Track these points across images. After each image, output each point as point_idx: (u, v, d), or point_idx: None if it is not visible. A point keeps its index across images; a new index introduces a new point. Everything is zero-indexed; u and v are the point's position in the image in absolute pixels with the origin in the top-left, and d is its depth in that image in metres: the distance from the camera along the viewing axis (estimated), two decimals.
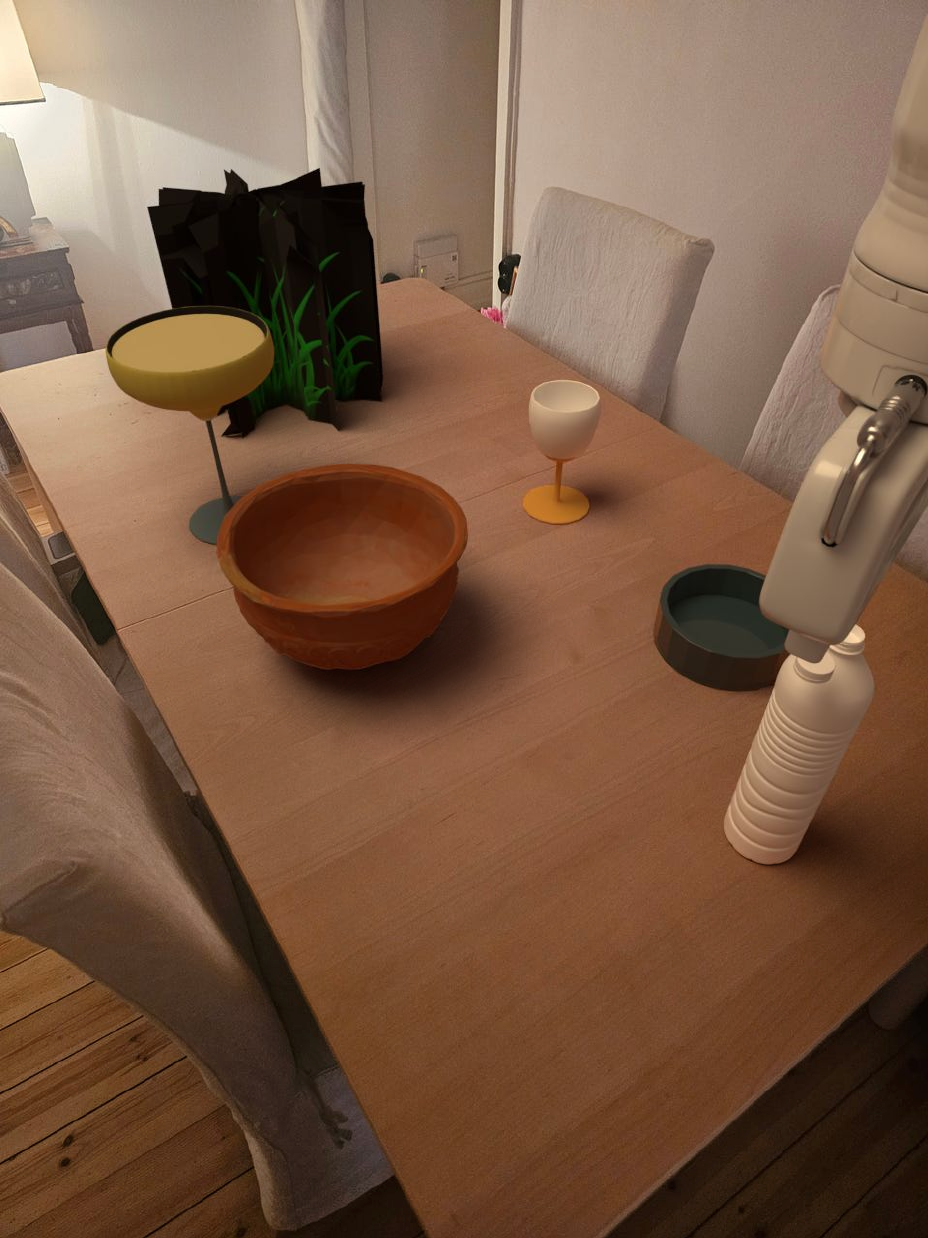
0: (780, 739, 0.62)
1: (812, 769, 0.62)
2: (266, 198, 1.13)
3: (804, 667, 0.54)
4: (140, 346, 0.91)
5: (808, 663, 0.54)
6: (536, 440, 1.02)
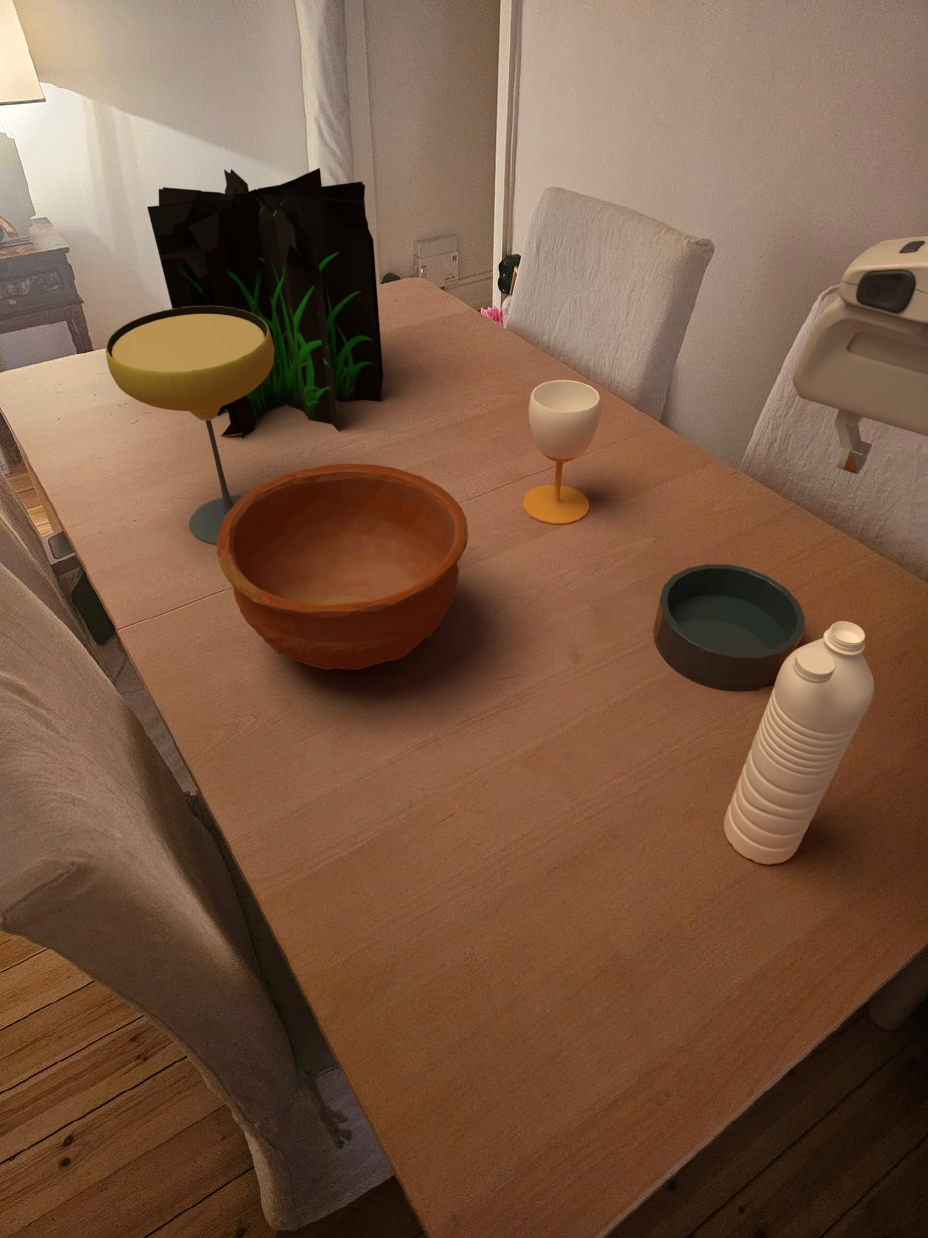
0: (780, 739, 0.62)
1: (812, 769, 0.62)
2: (266, 198, 1.13)
3: (804, 667, 0.54)
4: (140, 345, 0.91)
5: (808, 663, 0.54)
6: (536, 440, 1.02)
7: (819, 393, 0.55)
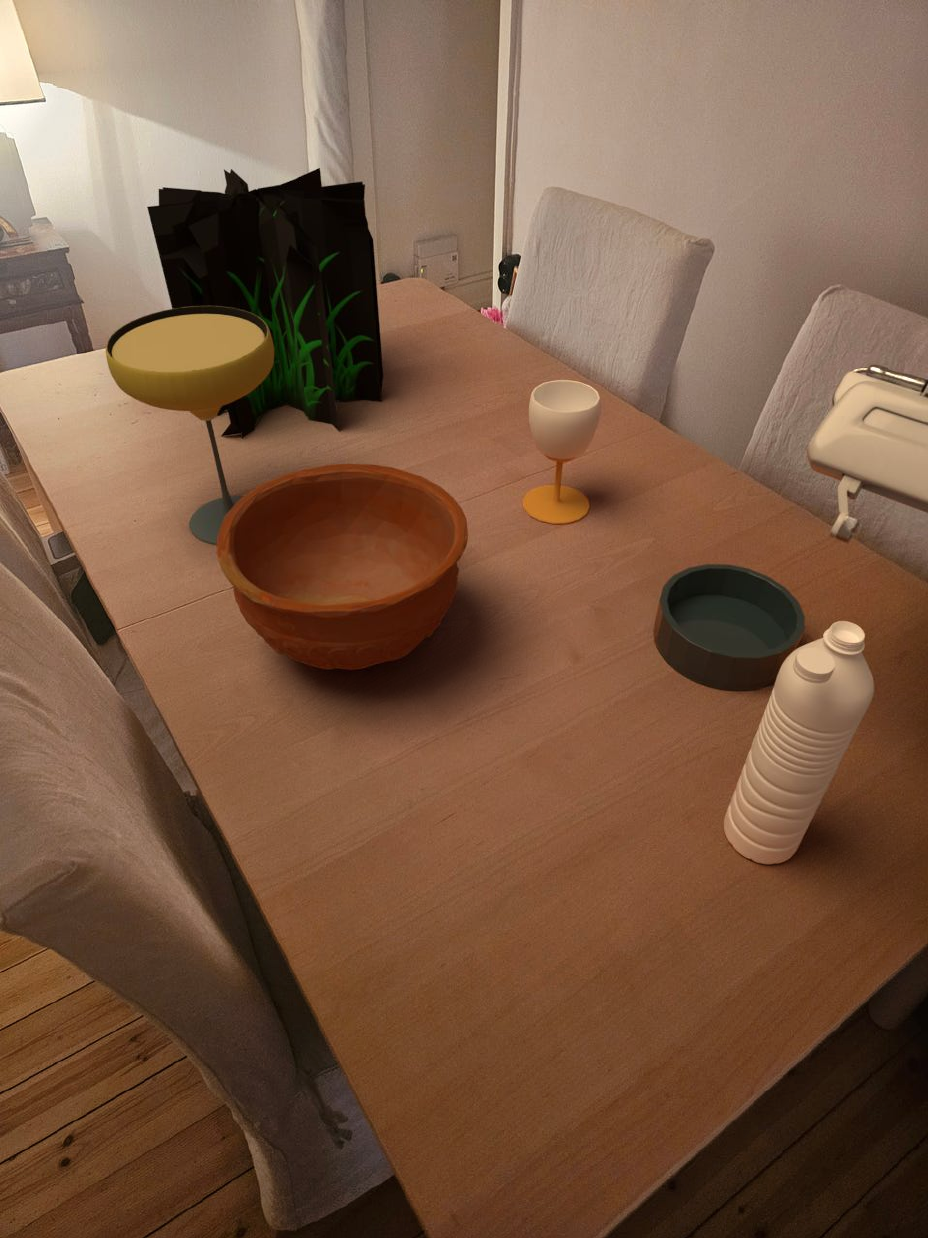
0: (780, 739, 0.62)
1: (812, 769, 0.62)
2: (266, 198, 1.13)
3: (804, 666, 0.54)
4: (140, 345, 0.91)
5: (808, 663, 0.54)
6: (536, 440, 1.02)
7: None
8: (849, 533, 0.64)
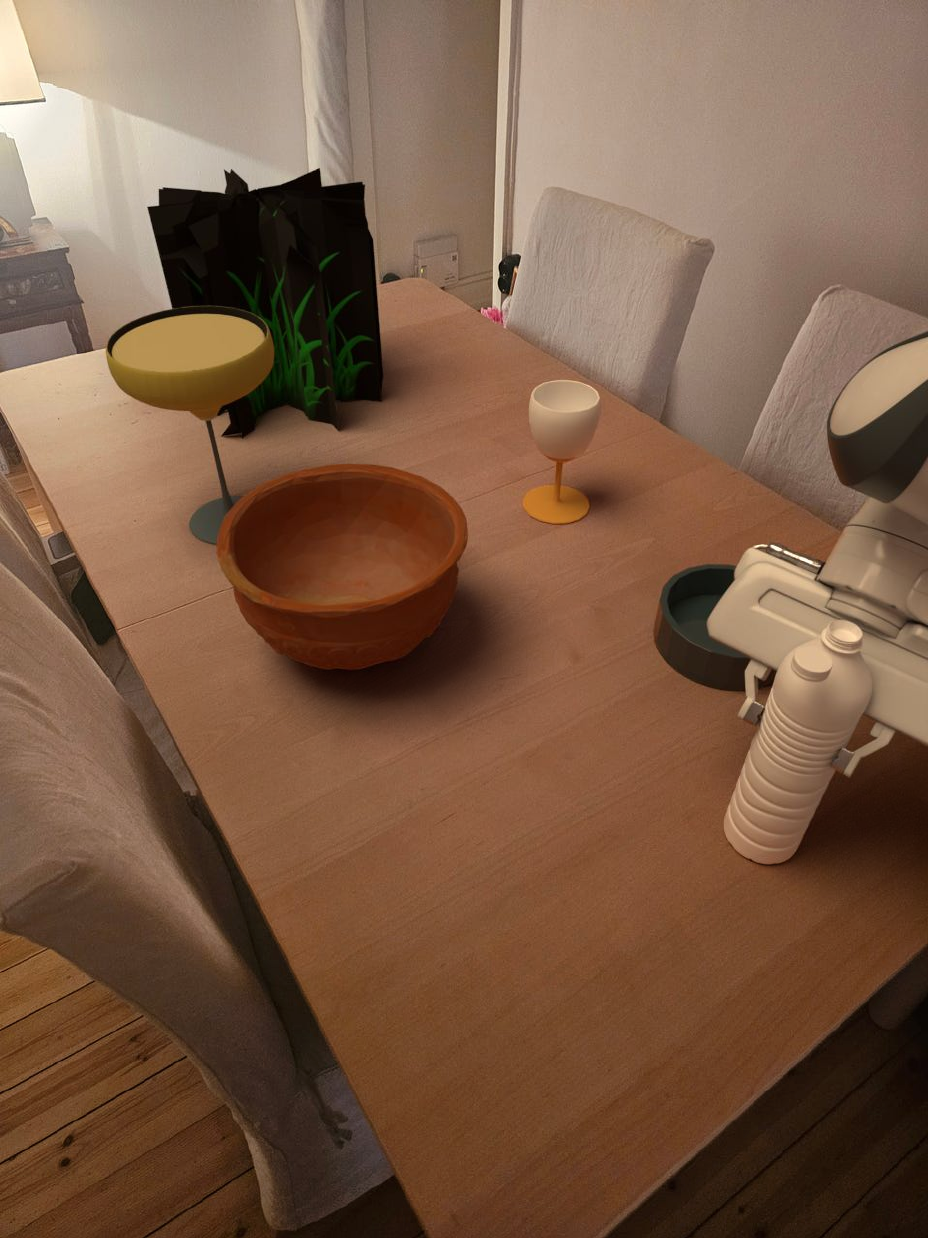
0: (779, 738, 0.62)
1: (811, 768, 0.62)
2: (266, 198, 1.13)
3: (801, 665, 0.54)
4: (140, 345, 0.91)
5: (805, 661, 0.54)
6: (536, 440, 1.02)
7: None
8: (755, 719, 0.64)
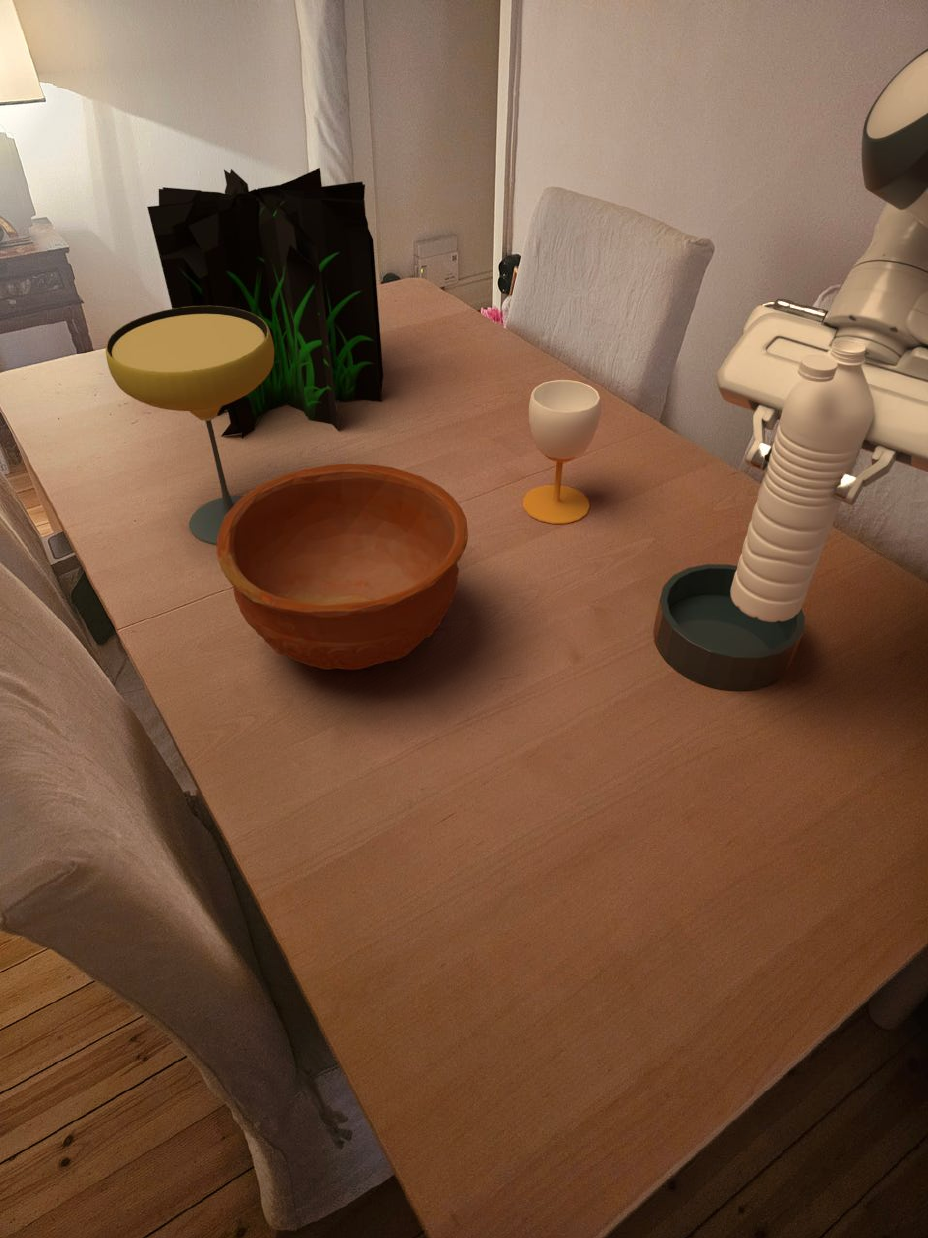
0: (785, 470, 0.65)
1: (815, 499, 0.65)
2: (266, 198, 1.13)
3: (808, 365, 0.57)
4: (140, 345, 0.91)
5: (812, 363, 0.58)
6: (536, 440, 1.02)
7: None
8: (762, 459, 0.67)
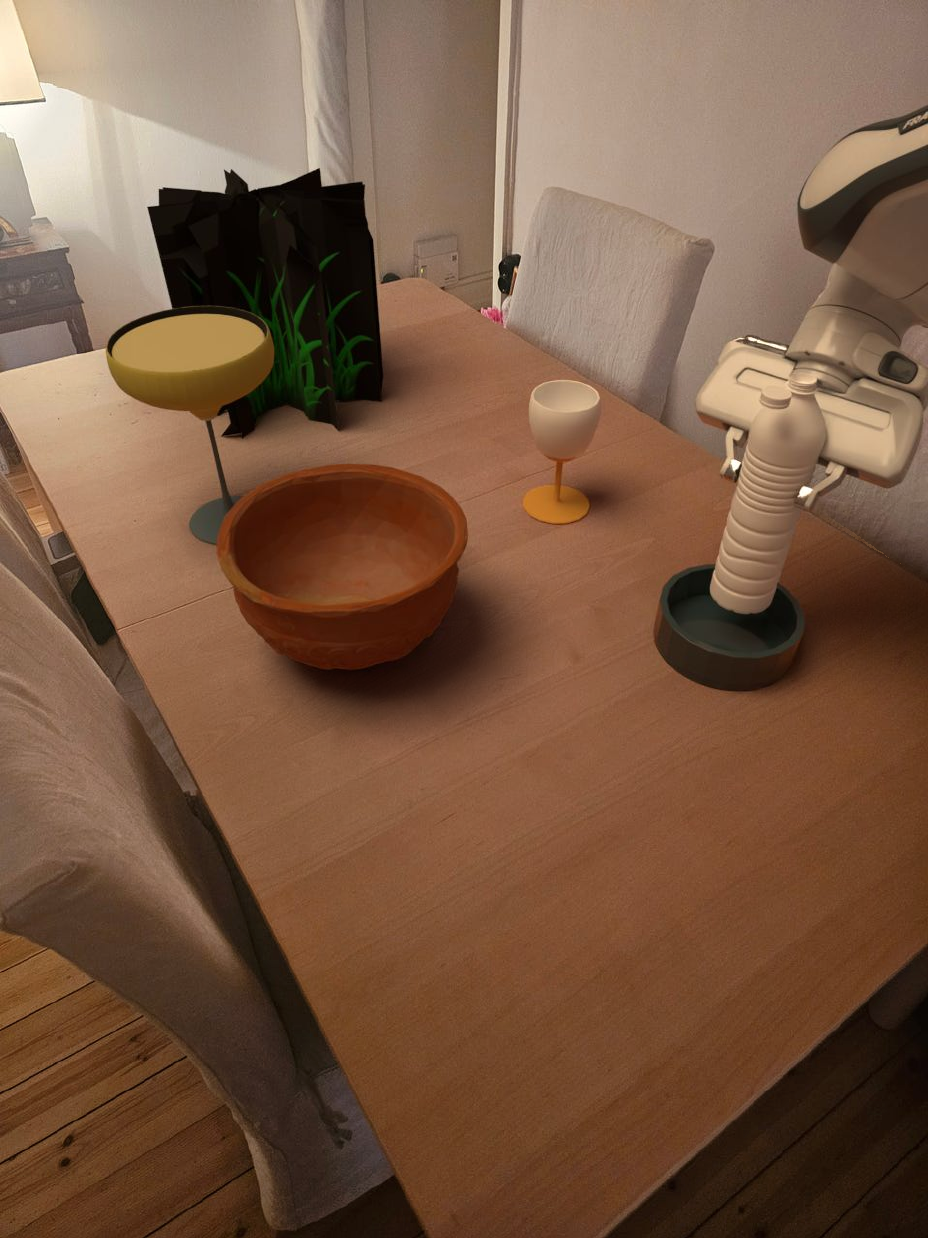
0: (752, 482, 0.76)
1: (778, 507, 0.76)
2: (266, 198, 1.13)
3: (767, 395, 0.68)
4: (140, 345, 0.91)
5: (770, 393, 0.69)
6: (536, 440, 1.02)
7: None
8: (734, 473, 0.78)
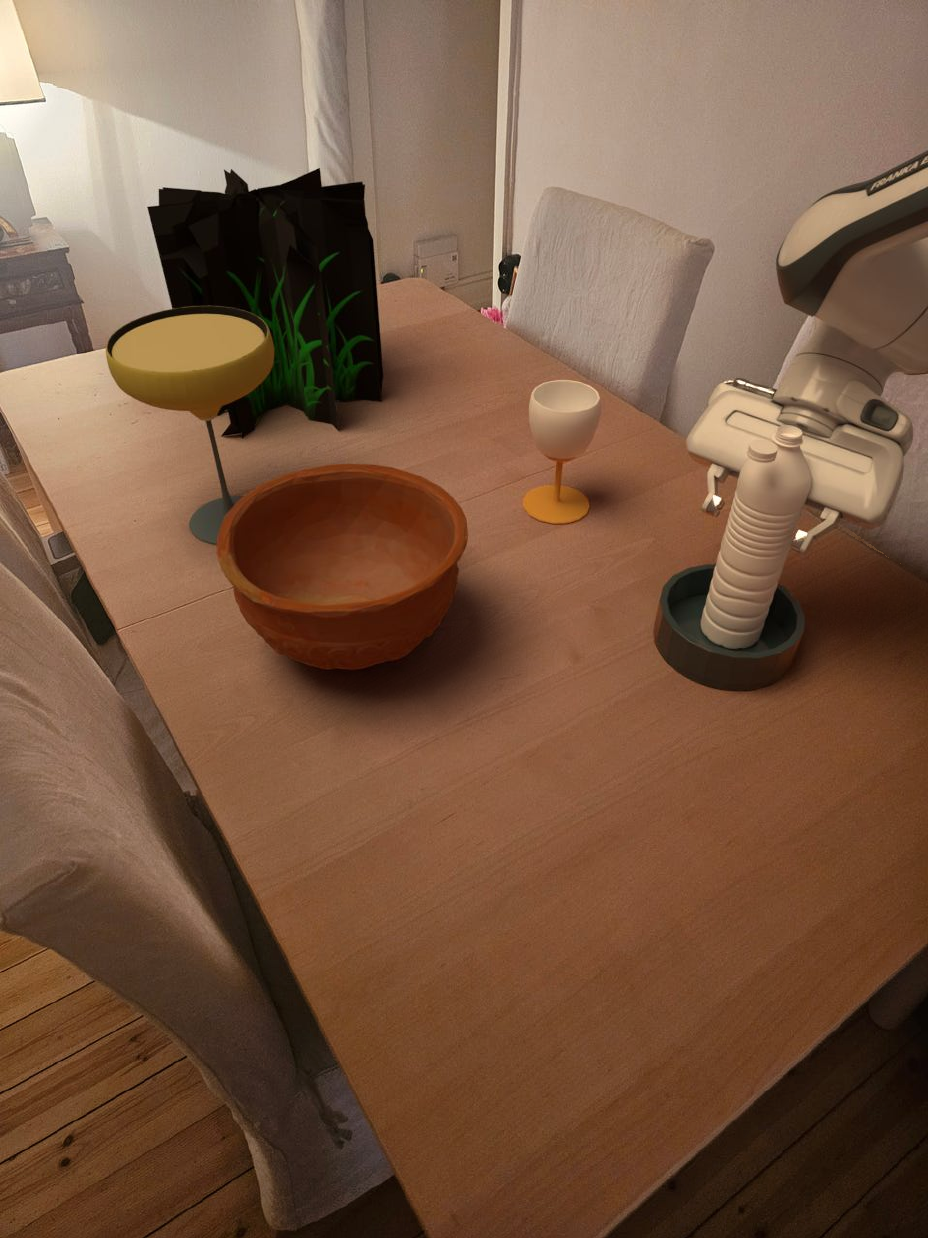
0: (741, 527, 0.80)
1: (766, 551, 0.80)
2: (266, 198, 1.13)
3: (754, 450, 0.72)
4: (140, 345, 0.91)
5: (757, 447, 0.72)
6: (536, 440, 1.02)
7: None
8: (714, 508, 0.82)
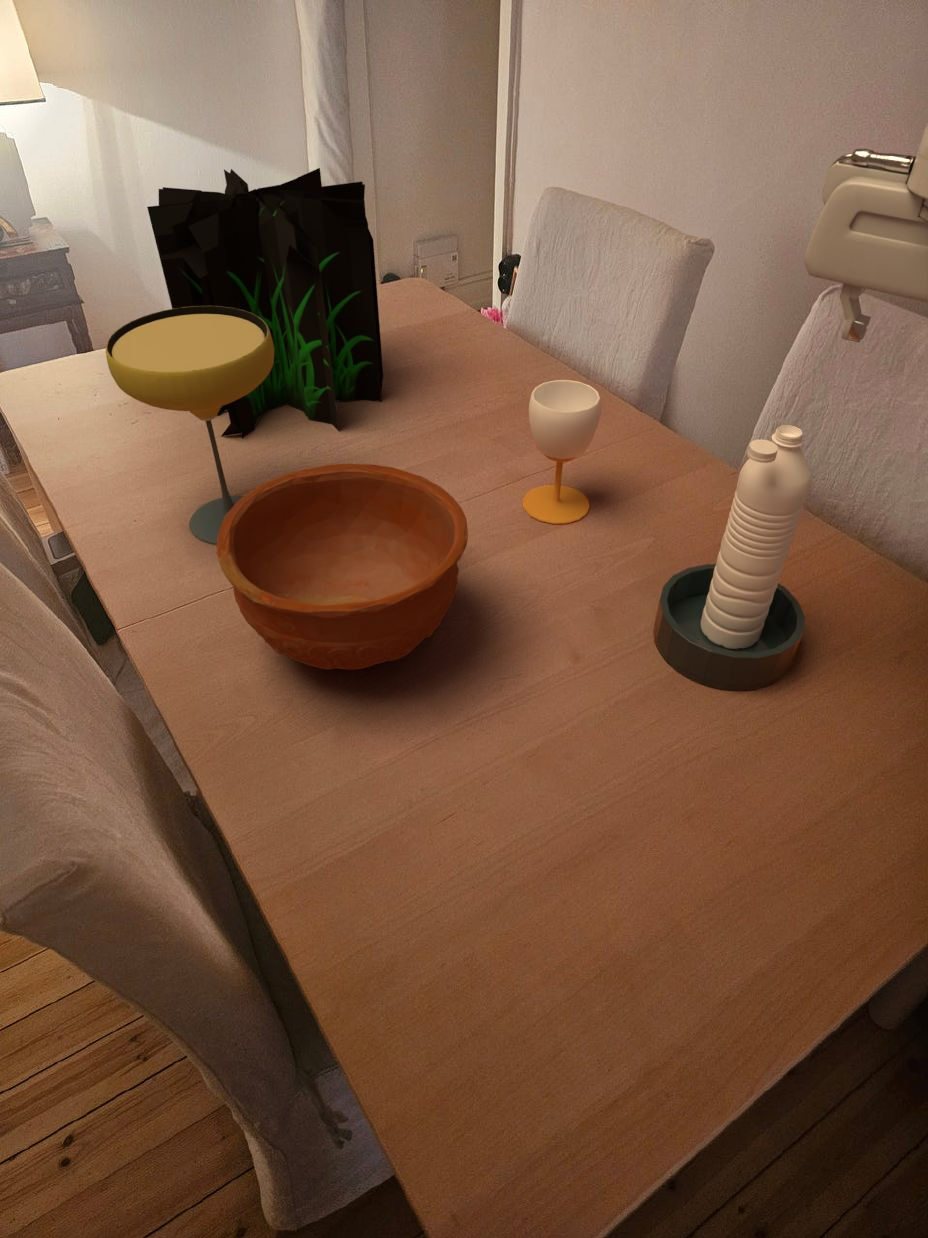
0: (741, 527, 0.80)
1: (766, 551, 0.80)
2: (266, 198, 1.13)
3: (754, 450, 0.72)
4: (140, 345, 0.91)
5: (757, 447, 0.72)
6: (536, 440, 1.02)
7: None
8: (858, 337, 0.68)
